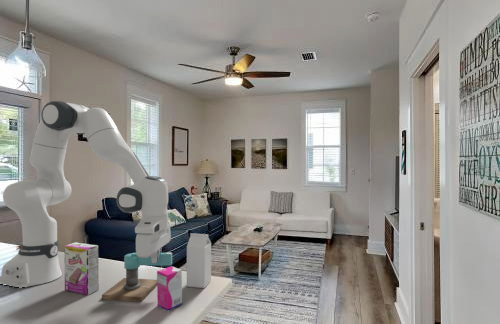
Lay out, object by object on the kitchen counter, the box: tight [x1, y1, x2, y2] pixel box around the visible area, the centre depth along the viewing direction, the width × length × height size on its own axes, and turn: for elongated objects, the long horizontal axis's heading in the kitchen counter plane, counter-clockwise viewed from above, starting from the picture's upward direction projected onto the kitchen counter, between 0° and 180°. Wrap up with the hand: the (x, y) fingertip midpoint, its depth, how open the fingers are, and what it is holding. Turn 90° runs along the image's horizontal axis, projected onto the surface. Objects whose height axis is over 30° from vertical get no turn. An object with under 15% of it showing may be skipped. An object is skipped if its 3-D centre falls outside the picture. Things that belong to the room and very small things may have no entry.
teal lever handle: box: [123, 252, 173, 270], centre depth 106 cm, size 17×5×5 cm, turn 92°
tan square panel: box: [101, 267, 157, 303], centre depth 106 cm, size 14×14×9 cm
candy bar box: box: [63, 241, 99, 296], centre depth 106 cm, size 11×5×16 cm, turn 71°
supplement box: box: [156, 265, 183, 312], centre depth 96 cm, size 6×6×12 cm
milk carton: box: [186, 233, 212, 289], centre depth 113 cm, size 7×7×19 cm
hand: (155, 262), depth 104 cm, fingers closed
